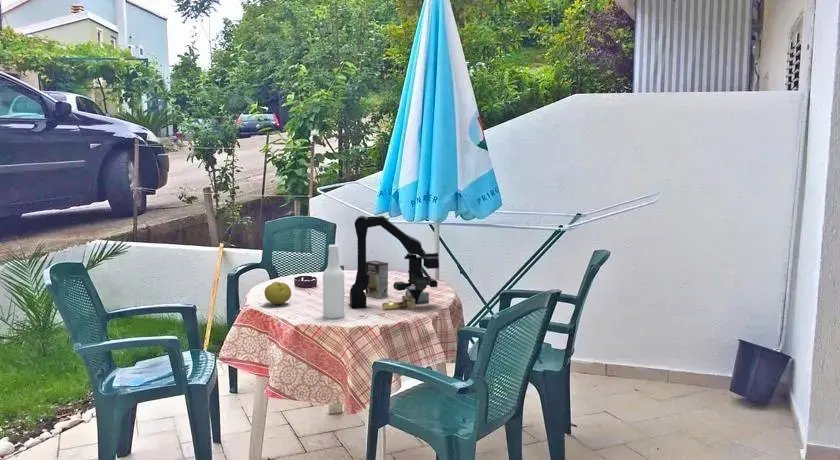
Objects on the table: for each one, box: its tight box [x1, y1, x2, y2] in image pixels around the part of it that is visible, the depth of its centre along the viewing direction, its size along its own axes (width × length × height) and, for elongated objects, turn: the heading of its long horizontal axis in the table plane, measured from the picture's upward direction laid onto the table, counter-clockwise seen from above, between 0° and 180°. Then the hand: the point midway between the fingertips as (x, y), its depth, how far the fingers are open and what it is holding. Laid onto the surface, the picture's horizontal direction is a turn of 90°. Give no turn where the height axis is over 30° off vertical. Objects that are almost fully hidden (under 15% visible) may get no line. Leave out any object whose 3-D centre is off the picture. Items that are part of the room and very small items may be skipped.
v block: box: [405, 289, 430, 305], centre depth 331 cm, size 8×9×5 cm
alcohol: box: [322, 243, 346, 320], centre depth 302 cm, size 9×9×30 cm
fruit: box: [264, 281, 292, 306], centre depth 323 cm, size 11×12×10 cm
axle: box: [381, 301, 404, 311], centre depth 318 cm, size 9×3×3 cm, turn 111°
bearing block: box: [401, 294, 416, 311], centre depth 320 cm, size 3×8×4 cm, turn 21°
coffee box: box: [365, 260, 389, 300], centre depth 340 cm, size 9×6×16 cm
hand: (415, 303), depth 321 cm, fingers closed
